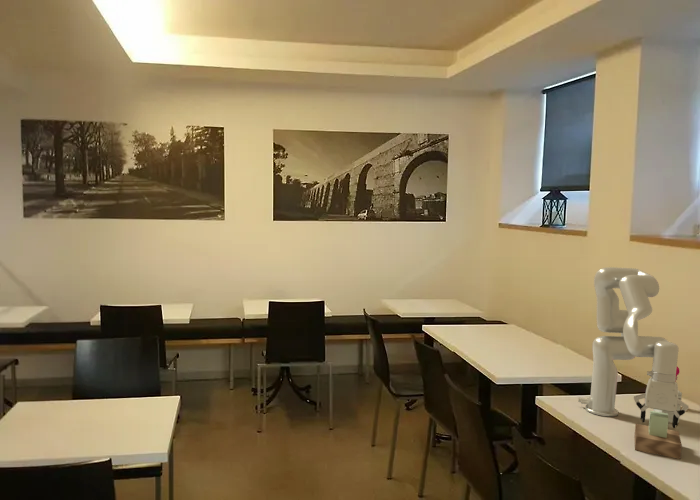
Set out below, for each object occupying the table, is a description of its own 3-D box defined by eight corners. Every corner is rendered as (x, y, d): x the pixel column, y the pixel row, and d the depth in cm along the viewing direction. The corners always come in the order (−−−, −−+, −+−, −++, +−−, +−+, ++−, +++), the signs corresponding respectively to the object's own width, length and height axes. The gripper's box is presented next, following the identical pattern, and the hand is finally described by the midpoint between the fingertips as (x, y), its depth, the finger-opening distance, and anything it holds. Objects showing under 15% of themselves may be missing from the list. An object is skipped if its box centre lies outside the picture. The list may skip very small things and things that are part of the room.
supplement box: (652, 415, 251) (655, 385, 250) (670, 416, 251) (673, 386, 250) (660, 422, 244) (663, 391, 243) (679, 423, 243) (682, 392, 242)
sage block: (649, 434, 215) (651, 415, 214) (648, 429, 220) (650, 410, 219) (666, 437, 212) (668, 418, 212) (665, 432, 217) (667, 413, 217)
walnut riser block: (634, 450, 213) (636, 436, 212) (634, 436, 226) (635, 423, 225) (680, 459, 207) (681, 444, 207) (676, 444, 220) (678, 431, 220)
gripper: (636, 375, 214) (631, 422, 216) (692, 384, 207) (687, 432, 209) (636, 370, 221) (631, 416, 223) (690, 378, 214) (685, 425, 216)
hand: (658, 424), depth 216 cm, fingers open, 9 cm apart
